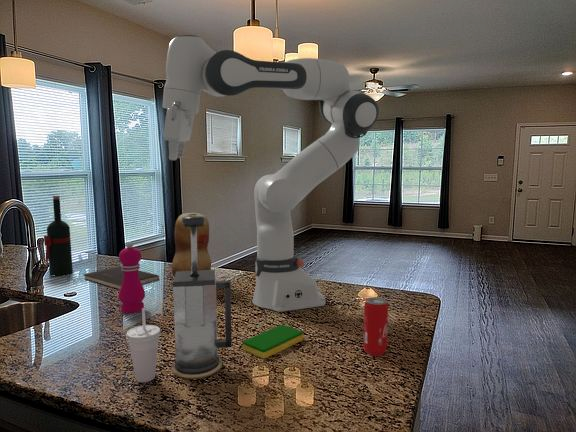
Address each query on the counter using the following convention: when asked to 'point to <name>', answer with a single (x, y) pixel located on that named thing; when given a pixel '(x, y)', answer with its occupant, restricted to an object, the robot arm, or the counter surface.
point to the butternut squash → (184, 246)
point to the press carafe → (198, 324)
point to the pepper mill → (131, 281)
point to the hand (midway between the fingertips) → (176, 159)
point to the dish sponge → (272, 341)
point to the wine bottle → (58, 244)
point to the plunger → (193, 238)
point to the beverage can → (375, 326)
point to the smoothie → (144, 349)
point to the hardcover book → (117, 277)
